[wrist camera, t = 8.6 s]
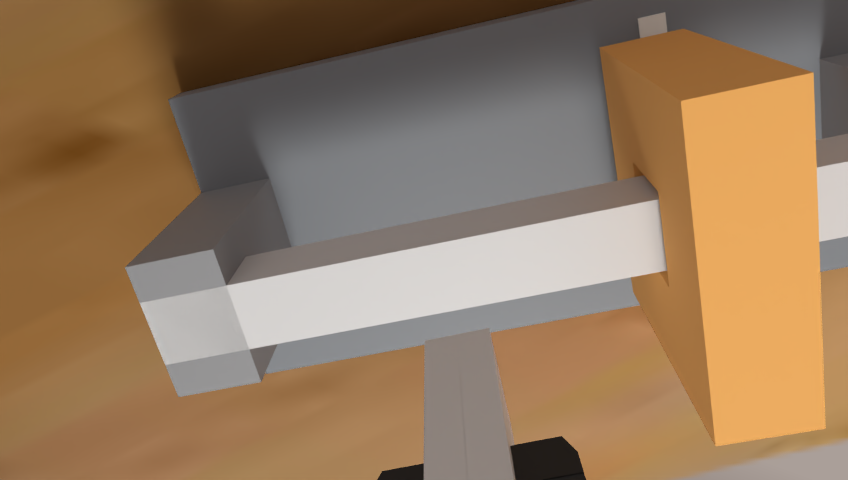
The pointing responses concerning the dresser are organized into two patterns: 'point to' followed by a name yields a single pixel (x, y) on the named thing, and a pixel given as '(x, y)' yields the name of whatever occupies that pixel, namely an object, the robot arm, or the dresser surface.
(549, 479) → the robot arm
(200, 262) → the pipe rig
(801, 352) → the slotted orange slab
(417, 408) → the dresser surface
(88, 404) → the dresser surface
